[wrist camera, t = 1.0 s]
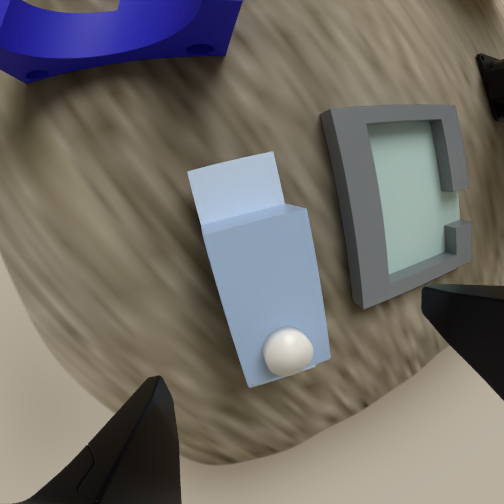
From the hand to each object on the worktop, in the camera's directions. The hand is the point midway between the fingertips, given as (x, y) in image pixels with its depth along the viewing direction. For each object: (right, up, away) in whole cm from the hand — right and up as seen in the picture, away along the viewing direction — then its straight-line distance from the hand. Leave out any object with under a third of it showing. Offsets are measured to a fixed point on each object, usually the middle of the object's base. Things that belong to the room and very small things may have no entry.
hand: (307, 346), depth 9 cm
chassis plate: (+8, +6, +9) cm, 14 cm away
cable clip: (-9, +15, +4) cm, 18 cm away
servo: (-2, +2, +8) cm, 8 cm away
